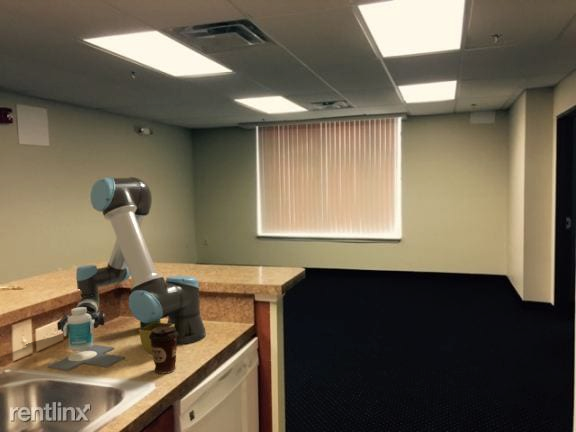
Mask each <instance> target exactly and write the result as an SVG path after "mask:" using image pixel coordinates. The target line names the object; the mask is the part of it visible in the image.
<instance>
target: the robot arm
mask: <svg viewBox="0 0 576 432" xmlns="http://www.w3.org/2000/svg"><path fill="white" fill-rule="evenodd" d="M152 196H153V195H152V192H151V189H150V187H149V185H148V184H147V183H146V182H145V181H144V180H142V179H141V178H138V177H130V176H129V177H103V178H100V179H99V178H98V179H97V180H96V181H95V182H94V183H93V185H92V186H91V191H90V203H91V205H92V208H93V210H95V211H97V212H102V215H103V217H104V219H105V220H107V221H109V222H110V223H111V226H112V229H113V232H114V235H115V237H116V238H115V241H114V245H113V248H112V252H111V253H110V254H111V255H110V257H109V260H108V263H107V266H104V267H99V268H98V267H97V265H95V264H86V265H80V266H78V267H77V268H76V271H75V272H76V273H75V275H76V277H75V278H76V287H77V290H78V289H80V290H81V291H82V294H81V297H82V299H81V300H80V301H78V300H77V305H76V308H78V307H86V308H87V312H86V313H87V314H89V315H91V317H92V321H91V324H90V331H91V333H93V334H94V331H95V329H97V328H98V327H99V326H104V325H105V311H104V310H102V311H100V312H98V311H99V309H100V306H101V301H100V300H101V299H100V295H99V288H102V287H107V286H110V285H115V284H121V283H123V282H127V281H128V280H129V278H130V277H131V280H132V286H131V287H130V291H131V293H130V295H129V298H128V307H129V311H130V313H131V314H132V315H133V317H134V318H135V319H136V320H137V321H139V322H140V321H141V322H144V323H149V322H153V321H158V320H160V321H161V319H164V318H167V319H168V320H167V323H168V324H174V328H175V331H177V332H178V337H177V342H176V345H183V344H189V343H190V344H191V343H196V342H199V341H201V340H203V339H204V338H206V336H207V333H206V332H207V331H206V327H205V325H204V322H203V319H202V317H201V308H200V287H199V286H200V285H199V280H198V279H197V277H194V276H188V275H187V276H186V275H172V276H168V277H166V279H165V278H164V276H163V275H160V274H158V272H157V269H156V267H155V264H154V262H153V259H152V256H151V254H150V251H149V248H148V246H147V243H146V240H145V237H144V236H143V232H142V229H141V228H142V225H143V223H144V220H145V218H146V217H147V216H148V215H149V214H150V211H151V208H152V202H153V200H152V199H153V197H152ZM91 295H92V296H91ZM70 316H71V315H70ZM70 316H69V315H67V314H64V315H62V317H61V319H60V320H59V321H57V325H56V326H57V331H60V330H61V332H62V334H63V337H67V335H68V318H69V317H70Z"/></svg>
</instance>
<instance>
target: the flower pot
mask: <svg viewBox="0 0 576 432" xmlns="http://www.w3.org/2000/svg"><path fill="white" fill-rule="evenodd" d="M157 327H174V324H168V323H165V322H161V323H152V324H150V325H148V326H146V327H144V328H142V329H141V328H140V329H138V333H139V338H140V342H141V346H142V347H143V349H144V351H145V352H146V353H147V354H148V355H153V354H152V348H151V339H149V335H150V334H151V332H152V331H151V330H152V329H155V328H157Z"/></svg>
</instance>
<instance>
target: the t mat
mask: <svg viewBox="0 0 576 432" xmlns="http://www.w3.org/2000/svg"><path fill="white" fill-rule="evenodd" d="M113 350H115V347H114V346H107V345H101V344H93V346H92V347H91V348H89V349H86V350H82V351H76V352H75V353H72V354H71V355H68V356H66V357H64V358H62V359H59V360H57V361H54V362H53V363H50V364H48V365H47V368H49V369H54V370H55V369H56V370H61V371H67V372H69V371H71V370H74V369H75V368H78V367H80V366H82V365H89V366H96V367H101V368H109V367H111V366H112V365H113V366H114V365H115V364H117V363H119V362H120V361H122V360H124V359H125V358H126V357H125V356H124V355H123V356H122V355H115V354H108V352H112V351H113Z"/></svg>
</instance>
